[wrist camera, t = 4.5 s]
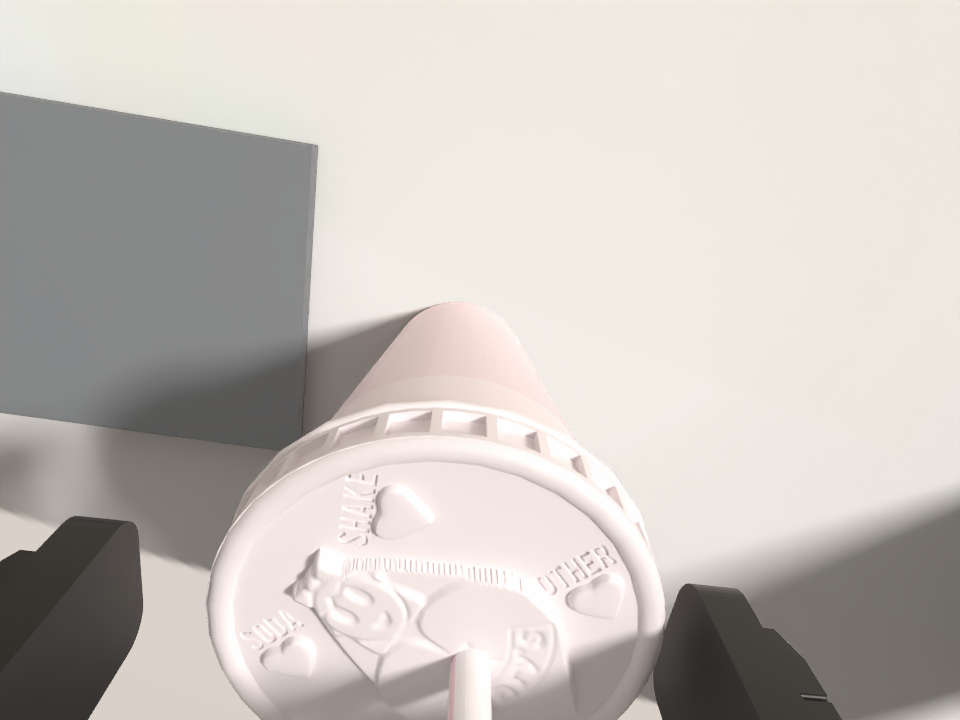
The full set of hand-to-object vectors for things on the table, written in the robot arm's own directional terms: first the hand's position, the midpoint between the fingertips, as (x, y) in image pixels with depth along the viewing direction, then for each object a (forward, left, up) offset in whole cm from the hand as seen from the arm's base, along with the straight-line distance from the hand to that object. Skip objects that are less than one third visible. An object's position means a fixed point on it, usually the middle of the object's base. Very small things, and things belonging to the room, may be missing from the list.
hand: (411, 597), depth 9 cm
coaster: (+8, -1, -9) cm, 12 cm away
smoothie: (0, 0, -9) cm, 9 cm away
